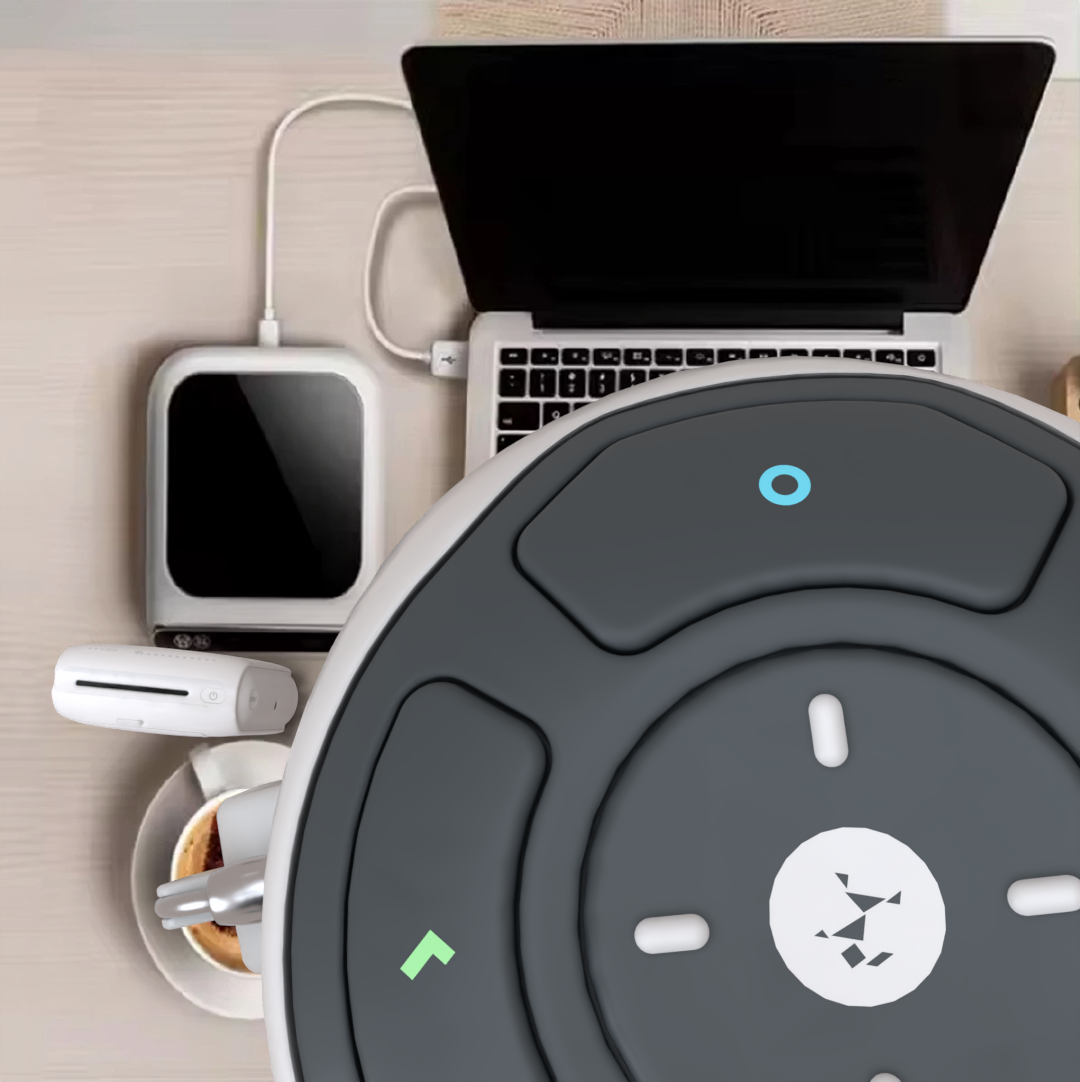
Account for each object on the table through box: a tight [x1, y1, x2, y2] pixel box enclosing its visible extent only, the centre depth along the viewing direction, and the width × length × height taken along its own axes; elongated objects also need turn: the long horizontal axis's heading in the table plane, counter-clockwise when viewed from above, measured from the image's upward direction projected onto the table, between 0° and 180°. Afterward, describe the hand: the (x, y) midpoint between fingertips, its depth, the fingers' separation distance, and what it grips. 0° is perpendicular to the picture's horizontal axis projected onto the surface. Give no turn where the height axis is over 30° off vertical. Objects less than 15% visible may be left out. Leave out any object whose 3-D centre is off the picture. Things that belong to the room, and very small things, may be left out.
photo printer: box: [50, 642, 299, 738], centre depth 73 cm, size 10×4×12 cm, turn 84°
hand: (683, 768), depth 37 cm, fingers closed
